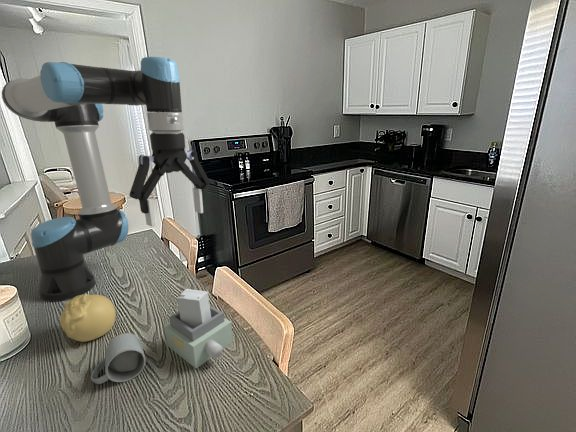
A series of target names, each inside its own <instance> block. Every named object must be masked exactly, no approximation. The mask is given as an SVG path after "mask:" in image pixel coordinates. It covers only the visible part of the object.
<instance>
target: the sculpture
mask: <svg viewBox="0 0 576 432" xmlns="http://www.w3.org/2000/svg"><path fill="white" fill-rule="evenodd" d="M116 315H117V313H116V308H115V306H114V304H113V302H112V300H110V299H109V298H108V297H106V296H104V295H101V294H88V293H84V294H82V295H78V296H76V297H74V298H71V299H69V301H68V300H67V301H66V302H65V304H64V310H62V311H61V313H60V316H59V319H60V322H59V324H60V327H61V328H62V329H61V330H62V332H65V334H66V336H67V337H68V339H72V340H74V341H77V342H80V343H81V342H82V343H84V342H89V341H93V340H96V339H98V338H100V337H102V336H104V335H106V334H107V333H108V332H110V330H111V329H113V326H114V324H115V321H116V317H117V316H116Z"/></svg>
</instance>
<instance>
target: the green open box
mask: <svg viewBox="0 0 576 432" xmlns="http://www.w3.org/2000/svg"><path fill="white" fill-rule="evenodd" d="M210 312H211V318H210V319H209V320H207V321H205V322H204V323H202V324H201V325H199V326H197V327H196V328H194V329H192V328H190V327H189V326H187V325H186V324H184V323H183V322H182V321H181V318H180V313H179V311H178V312H175V313H174V314H172V315H170V316H169V317H168V318H169V321H168V322H167V323H165V324H164V325H163V328H164V336H165V342H166V346H167V347H168V348H169V349H170V350H172V351H173V353H176V354H177V355H178V356H179V357H181V358H182V359H183V360H184V361H186V363H188V364H189V365H190V366H192V367H193V368H195V369H198V368H199V367H201V366H202V365H204V363H206V362H208V361H209V360H211V358H212V359H218V358H219V357H221V354H222V353H223V350H224V349H225V348H227V347H228V346H230V344H232V343H234V341H233V325H232V321H231V320H229V319H227V318H226V317H225V313H224V312H223V311H221V310H219V309H218V308H216V307H214V306H212V305H211V304H210Z"/></svg>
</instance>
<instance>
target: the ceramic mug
mask: <svg viewBox="0 0 576 432" xmlns="http://www.w3.org/2000/svg"><path fill="white" fill-rule="evenodd" d="M106 346H107V347H106V348H105V357H104V359H102V360H101V361H100V362H99V363H97V364H96V365H95V367H94V369H92V372H91V374H90V380H91V381H92V382H93V383H94V384H95V385H101V384H104V383H105V382H107V381H109V380H110V381H111V382H113V383H114V382H115V383H126V382H129V381H131V380H133V379H135V378H136V377H137V376H139V375H140V374H141V373H142V372H143V370H144V368H145V366H146V361H147V360H146V355H145V352H144V348H143V345H142V342H141V340H140V338H139V337H138V336H137V335H136V334H135V333H131V332H124V333H120V334H117V335H116V336H114V337H112V339H111V340H110V341H109V342H108V344H107V345H106ZM104 368H105V369H104ZM102 369H104V373H105V374H103V375H101V376H100V377H99V374H100V372H101V371H102Z"/></svg>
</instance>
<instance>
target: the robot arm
mask: <svg viewBox="0 0 576 432" xmlns="http://www.w3.org/2000/svg"><path fill="white" fill-rule="evenodd" d="M39 73H40V74H39V75H38V76H34V77H32V78H24V77H23V78H15V79H13V80H11V81H9V82H7V83H6V84H4V86H3V87H2V90H1V99H2V102H3V103H4V105H5V106H6V108H7V109H8V110H9V111H11V113H13V114H14V115H16V116H19V118H23V119H26V120H30V121H34V122H40V123H41V122H42V123H44V122H46V123H47V122H48V123H53V122H54V125H55V129H57V130H58V131H59V132H60V133H62V135H63V137H64V141H65V145H66V149H67V153H68V156H69V157H68V158H69V160H70V164H71V168H72V172H73V176H74V180H75V181H74V182H75V184H76V188H77V191H78V197H79V200H80V204H81V208H80V210H79V211H78V212H77V214H78V217H79V218H78V219H77V218H74V217H72V216H62V217H57V218H55V217H54V218H52V219H49V220H46V221H43V222H41V223H39V224H38V225H36V226H35V227H34V228H33V229H32V230H31V232H30V235H31V236H30V237H31V242H32V243H31V244H32V245H31V246H32V247H33V248H34V252H35V255H36V259H37V263H38V266H39V268H40V269H39V270H40V274H41V276H40V280H39V288H38V292H39V296H40V298H41V300H43V301H45V302H59V301H60V302H61V301H66V300H67V301H68V300H72V299H73V298H74V297H76V296H78V295H83V294H87V293H88V292H89V291H90V290H91V289H93V287H95V285H96V282H97V281H96V278H95V275H94V273H93V272H92V270H91V268H89V266H88V265H87V263H86V262H85V258H84V255H85V254H89V253H91V252H95V251H99V250H101V249H105V248H107V247H110V246H111V247H113V246H115V245H117V244H119V243H121V242H124V241H125V240H126V238H127V236H128V234H129V222H128V218H127V216H126V214H125V212H123V211H122V210H120V209H119V208H118V206H117V205H116V204H115V203H114V204H113V203H112V201H111V196H110V191H109V188H108V183H107V179H106V173H105V170H104V166H103V162H102V158H101V156H102V155H101V152H100V149H99V143H98V140H97V135H96V131H97V130H98V128H100V125H99V122H100V121H102V120H103V119H104V108H103V107H104V106H103V105H126V106H127V105H128V106H137V107H139V106H145V108H146V115H147V124H148V130H149V131H151V133H150V134H149V137H150V139H149V140H150V147H151V150H152V154H151V155H143V154H141V155H139V156H138V167H137V171H136V173H135V175H134V176H135V177H134V178H133V179H134V180H133V182H132V185H131V189H130V191H129V194H128V196H129V197H130V198H132V199H134V200H138V201H139V207H140V212H141V213H142V214H144V216H145V222H146V225H147V226H149V227H152V228H153V227H156V222H155V215H154V206H153V200H152V199H150V198H149V197H150V196H151V194H152V192H153V191H154V189H155V188H156V186H157V184H158V182H159V181H160V180H161V178H162V177H163V176H164V175H165V174H170V173H173V172H174V173H175V172H176V173H178V172H182V174H183V175H184V176H185V177H186V178H187V179H188V180H189V181H190V183H192V185H194V186H195V187H193V188H192V192H193V203H194V212H196V213H199V214H203V213H204V205H203V203H204V202H203V200H205V190H206V189H207V186H209V185H210V184H211V182H210V179H209V178H208V177H209V176H207V174H206V172H205V170H204V168H203V166H202V164H201V162H200V161H199V158H198V152H197V151H195V150H187V152H186V141H185V140H186V139H185V138H186V137H185V134H184V132H182V131H183V130H184V121H183V112H182V111H183V110H182V98H181V96H182V95H181V84H180V82H181V79H180V76H179V68H178V64H177V62H176V61H175V60H174V59H171V58H168V57H160V56H146V57H143V58H141V60H140V70H129V69H128V70H127V69H120V68H110V67H109V68H108V67H99V66H92V65H91V66H90V65H84V64H74V63H69V62H65V61H64V62H63V61H61V62H54V61H53V62H52V61H47V62H44V63H43V64H42V65H41V68H40V72H39ZM186 160H188V161H189V163H190V165H191V167H192V169H193V171H194V172H195V173H194V172H193V171H192V170H191V169H190V166H188V165H187V164H186ZM152 164H154V166H153V168H152V169H151V174H150V175H149V177H148V178H147V176H148V174H149V171H150V166H151V165H152Z"/></svg>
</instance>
